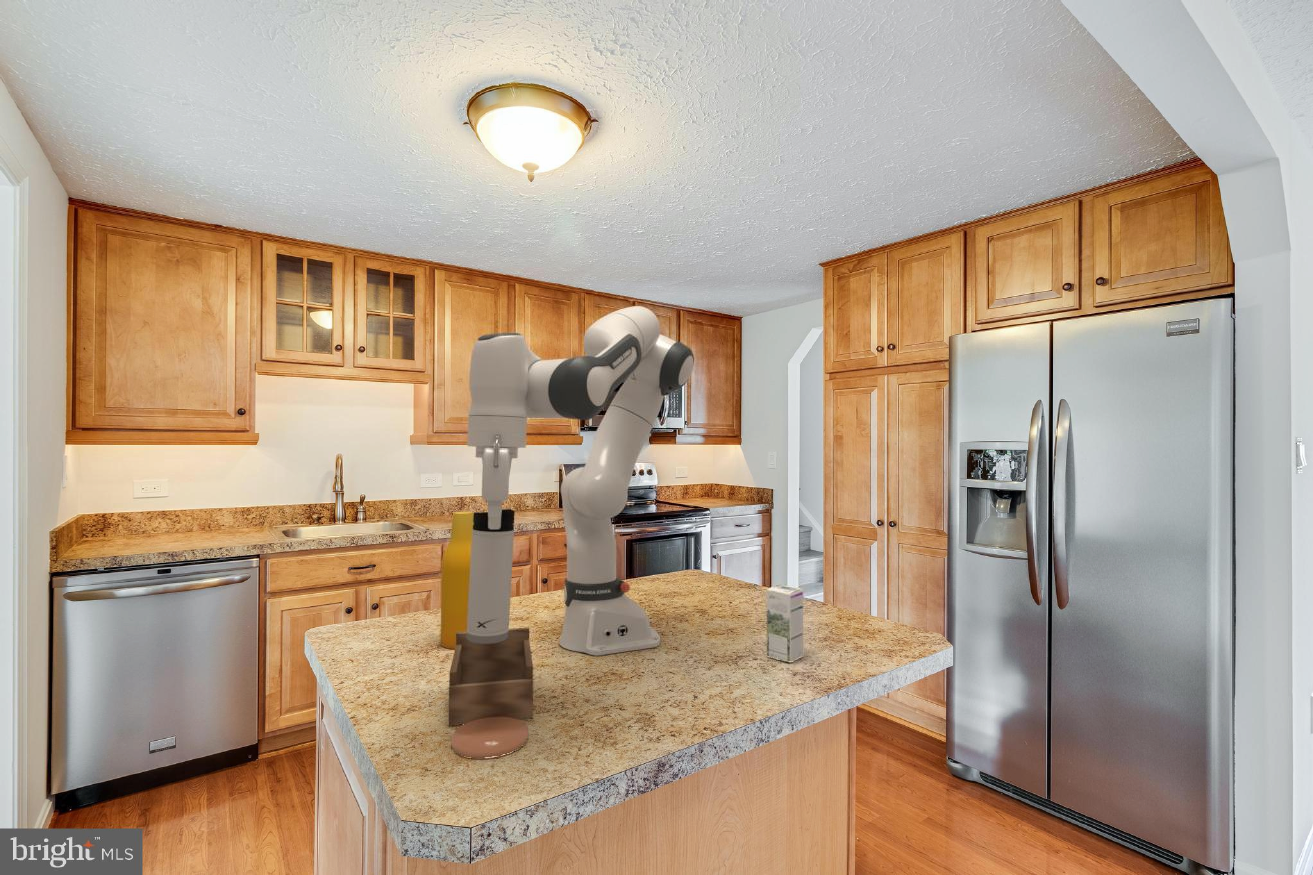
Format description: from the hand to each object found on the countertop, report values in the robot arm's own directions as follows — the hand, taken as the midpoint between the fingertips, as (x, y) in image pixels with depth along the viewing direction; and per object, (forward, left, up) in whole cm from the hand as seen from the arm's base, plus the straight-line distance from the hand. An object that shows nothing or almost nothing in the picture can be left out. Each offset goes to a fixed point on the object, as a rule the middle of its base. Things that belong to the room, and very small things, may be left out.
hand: (494, 525), depth 96 cm
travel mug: (+1, 0, -17) cm, 17 cm away
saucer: (0, +3, -32) cm, 32 cm away
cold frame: (0, -12, -32) cm, 34 cm away
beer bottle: (+7, -46, -32) cm, 56 cm away
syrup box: (-59, -21, -32) cm, 70 cm away
